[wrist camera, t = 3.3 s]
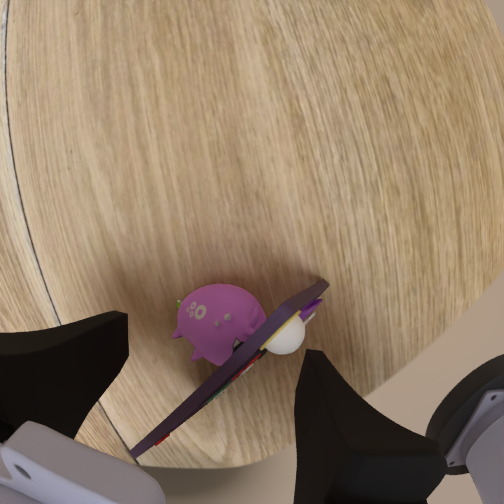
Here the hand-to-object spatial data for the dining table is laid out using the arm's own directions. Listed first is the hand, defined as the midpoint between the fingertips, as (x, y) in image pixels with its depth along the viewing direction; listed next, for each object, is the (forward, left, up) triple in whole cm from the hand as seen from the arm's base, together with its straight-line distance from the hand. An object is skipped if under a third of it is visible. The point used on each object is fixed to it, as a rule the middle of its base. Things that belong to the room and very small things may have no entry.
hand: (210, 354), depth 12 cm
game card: (0, 0, -3) cm, 3 cm away
